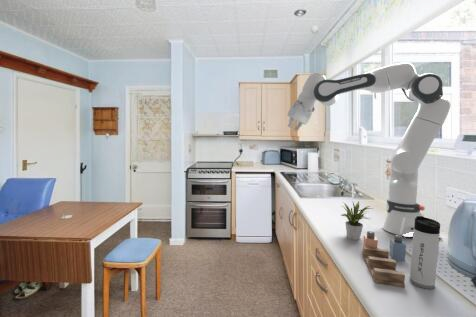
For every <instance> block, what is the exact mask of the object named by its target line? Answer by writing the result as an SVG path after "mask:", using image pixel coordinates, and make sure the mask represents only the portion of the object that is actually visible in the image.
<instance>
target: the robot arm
mask: <svg viewBox="0 0 476 317" xmlns="http://www.w3.org/2000/svg"><path fill="white" fill-rule="evenodd" d="M443 86H444V85H443V79H442V77H441V76H439V75H438V74H436V73H432V72H431V73H430V72H428V73H422V74H417V70H416V68H415V66H414V65H413V64H412V63H411V62H400V63H399V62H398V63H394V64H390V65H387V66H383V67H380V68H376V69H373V70H371V71H368V72H365V73H360V74H357V75H356V74H355V75H353V76H349V77H344V78H340V79H327V78H326V76H325V75H324V74H321V73H318V72H317V73H314V72H313V73H311V74H310V75H309V76H308V77H307V79H306V80H305V82H304V84H303V86H302V90H301V92H300V94H299V95H298V97H297V100H296V101H295V102H293V103H292V105H291V106H290V108H289V110H288V111H287V117H289V120H288V125H287V127H288V128H292V127H293V125H294V122H295V121H297V125H296V126H294V130H295V131H299V129H300V128H301V127H302V126H303V125H307V124H308V123H309V120H310V119H311V118H312V114H313V113H314V112H315V109H316V108H315V103H316V101H317V102H319V103H320V104H321V105H322V106H333V105H334V104H335V103H337V101H338V99H339V95H341V94H346V93H349V92H353V91H366V92H369V93H371V94H379V93H380V94H382V93H386V92H388V91H389V92H390V91H393V90H397V89H401V90H402V92H403V93H404V95H405V96H406V98H407V99H408V100H409V101H411V102H415V103H418V108H417V111H416V113H415V114H414V116H413V118H412V119H411V122H410V124H409V126H407V129H406V131H405V132H404V134H403V135H402V138H401V139H400V141H399V144H398V145H397V147H396V149H395V151H394V153H393V154H392V155H391V158H390V175H389V182H388V183H389V184H388V187H389V188H388V199H386V205H385V206H386V214H385V218H384V222H383V225H382V226H381V227H382V229H383V230H384V231H386V232H388V233H390V234H394V235H399V236H400V235H403V234H406V233H409V232H414V226H415V225H414V224H415V218H416V217H417V216H423V217H425V218H428V216H426V215H425V214H424V213H422V212H421V211H425V206H424V205H422V204H419V203H417V195H418V183H419V182H418V181H419V180H418V179H419V178H418V177H419V169H420V168H419V167H420V165H421V164H422V163H423V160H424V159H425V156H426V155H427V153H428V151H429V149H430V148H431V145H432V143H433V142H434V140H435V138H436V136H437V135H438V134H439V131H441V128H442V127H443V125H444V123H445V122H446V119H447V116H448V115H449V111H450V109H451V103H450V101H449V100H448V99H447V98H445V97H443V95H444V91H443Z"/></svg>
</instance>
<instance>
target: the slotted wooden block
mask: <svg viewBox="0 0 476 317" xmlns="http://www.w3.org/2000/svg"><path fill="white" fill-rule="evenodd" d="M389 251H390V250H388V248H387V249H386V248H379V247H377V248H372V247H364V246H363V245H362V256H363V259H364V261H365V264H366V266H367V268H368V270H369V272H370V276H371V277H372V280H373V282H374V283H376V284H381V285H385V286H394V287H400V288H405V287H406V283H405V280H406V279H405V278H406V274H405V273H404V272H403V271H399V270H397V261H396V259H392V258H389V257H390V254H389Z"/></svg>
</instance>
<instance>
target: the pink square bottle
mask: <svg viewBox="0 0 476 317" xmlns="http://www.w3.org/2000/svg"><path fill="white" fill-rule="evenodd" d="M375 234H376V232H374V231H369V230H367V232H366V234H364V235H363V242H362V247H363V246H364V247H372V248H378V242H379V241H378V238H377V237H376V236H375Z"/></svg>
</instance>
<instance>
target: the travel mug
mask: <svg viewBox="0 0 476 317" xmlns="http://www.w3.org/2000/svg"><path fill="white" fill-rule="evenodd" d="M414 225H415V226H414V233H413V238H412V245H411V260H410V272H409V281H410V282H411V283H412V284H413V285H415V286H416V287H419V288H422V289H426V290H432V289H434V288H435V287H436V280H437V278H436V277H437V268H438V256H439V247H440V246H439V245H440V239H439V237H440V236H441V233H440V232H441V231H440V230H441V223H440V222H438V221H437V220H435V219H432V218H429V217H427V218H425V217H423V216H417V217H416V218H415V224H414Z"/></svg>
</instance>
